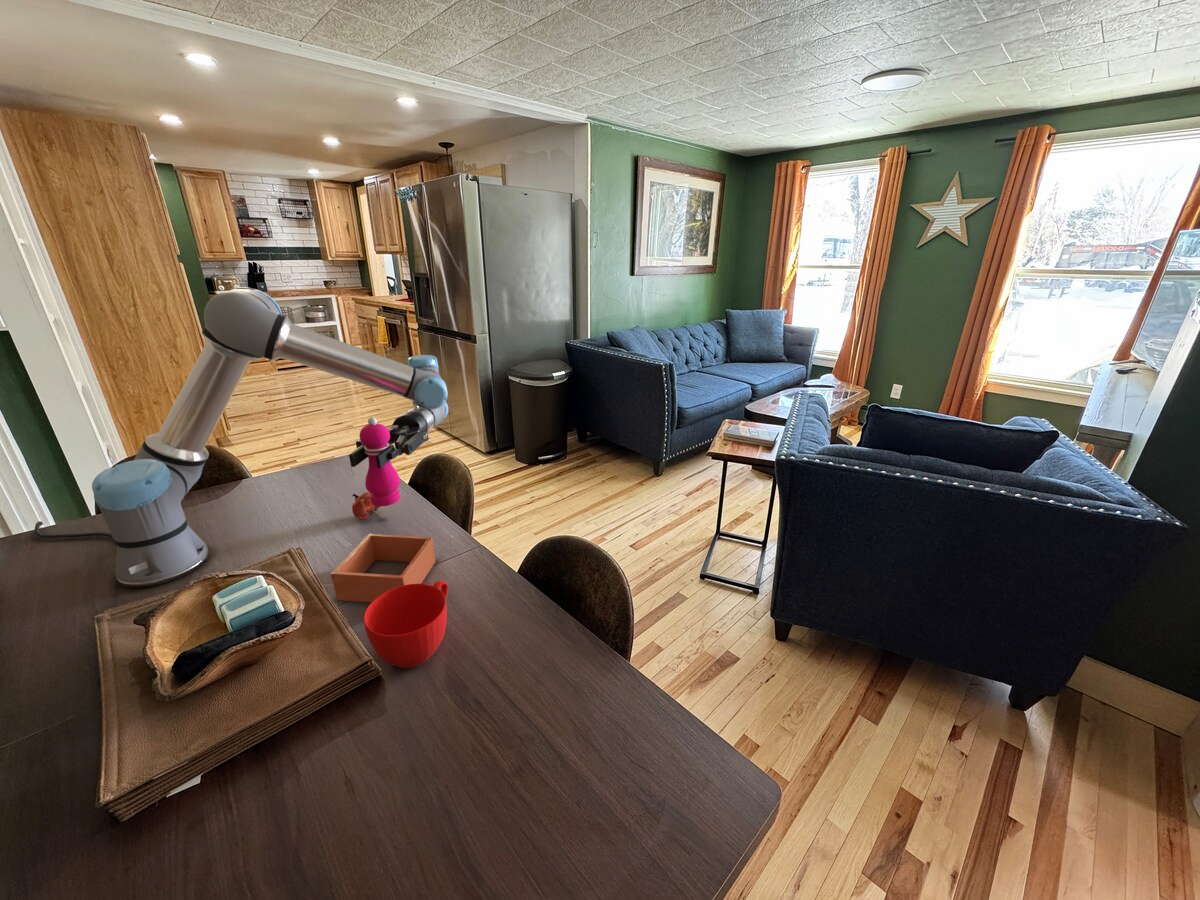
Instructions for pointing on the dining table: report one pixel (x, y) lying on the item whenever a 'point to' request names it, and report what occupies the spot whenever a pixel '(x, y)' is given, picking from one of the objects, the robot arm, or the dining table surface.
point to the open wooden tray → (368, 587)
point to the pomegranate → (364, 506)
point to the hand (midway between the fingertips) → (365, 461)
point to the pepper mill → (379, 479)
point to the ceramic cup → (407, 623)
